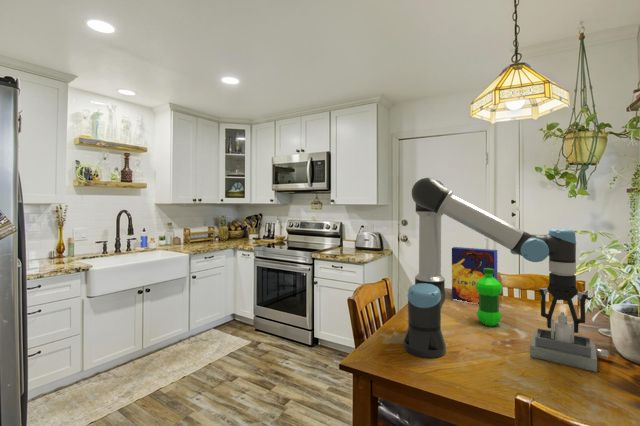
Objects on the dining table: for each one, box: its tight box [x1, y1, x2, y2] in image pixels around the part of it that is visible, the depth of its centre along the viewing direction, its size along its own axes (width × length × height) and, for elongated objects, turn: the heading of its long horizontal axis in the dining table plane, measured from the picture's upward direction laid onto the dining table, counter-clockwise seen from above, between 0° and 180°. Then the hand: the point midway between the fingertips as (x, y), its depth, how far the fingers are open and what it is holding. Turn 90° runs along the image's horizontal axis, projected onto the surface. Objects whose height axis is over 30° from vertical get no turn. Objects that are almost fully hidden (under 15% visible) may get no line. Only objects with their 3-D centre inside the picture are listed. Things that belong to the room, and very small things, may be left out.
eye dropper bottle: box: [554, 311, 571, 343], centre depth 113 cm, size 4×6×12 cm
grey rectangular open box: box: [529, 328, 610, 373], centre depth 113 cm, size 16×22×7 cm
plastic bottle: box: [476, 268, 503, 327], centre depth 145 cm, size 10×10×25 cm
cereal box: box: [451, 246, 498, 304], centre depth 177 cm, size 22×6×30 cm, turn 47°
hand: (562, 339), depth 113 cm, fingers open, 5 cm apart
